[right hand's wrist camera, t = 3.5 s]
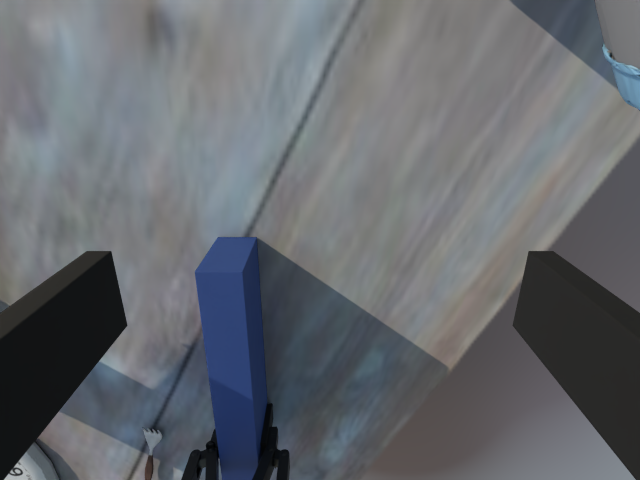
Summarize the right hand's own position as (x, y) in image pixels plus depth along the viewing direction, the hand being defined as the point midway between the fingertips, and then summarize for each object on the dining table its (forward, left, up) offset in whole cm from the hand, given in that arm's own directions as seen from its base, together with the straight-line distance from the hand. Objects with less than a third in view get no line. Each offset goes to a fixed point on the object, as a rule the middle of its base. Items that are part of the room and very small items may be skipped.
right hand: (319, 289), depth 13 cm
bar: (+10, +25, -31) cm, 42 cm away
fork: (+25, +46, -31) cm, 61 cm away
